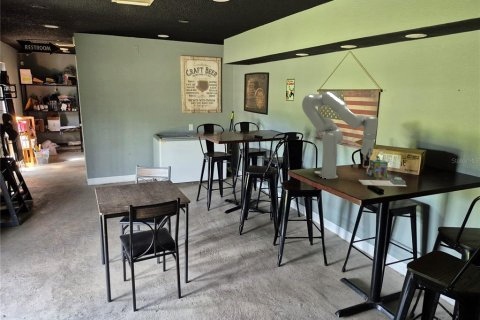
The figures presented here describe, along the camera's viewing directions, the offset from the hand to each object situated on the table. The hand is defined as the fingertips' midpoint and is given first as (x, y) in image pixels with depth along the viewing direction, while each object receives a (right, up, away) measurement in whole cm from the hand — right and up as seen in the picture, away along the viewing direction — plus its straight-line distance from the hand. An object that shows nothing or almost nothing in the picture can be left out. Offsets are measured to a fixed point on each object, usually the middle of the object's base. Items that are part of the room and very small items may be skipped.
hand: (365, 165), depth 207 cm
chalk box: (+16, -9, +19) cm, 26 cm away
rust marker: (0, -1, 0) cm, 1 cm away
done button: (+20, -10, -1) cm, 23 cm away
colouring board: (+11, -12, +1) cm, 16 cm away
